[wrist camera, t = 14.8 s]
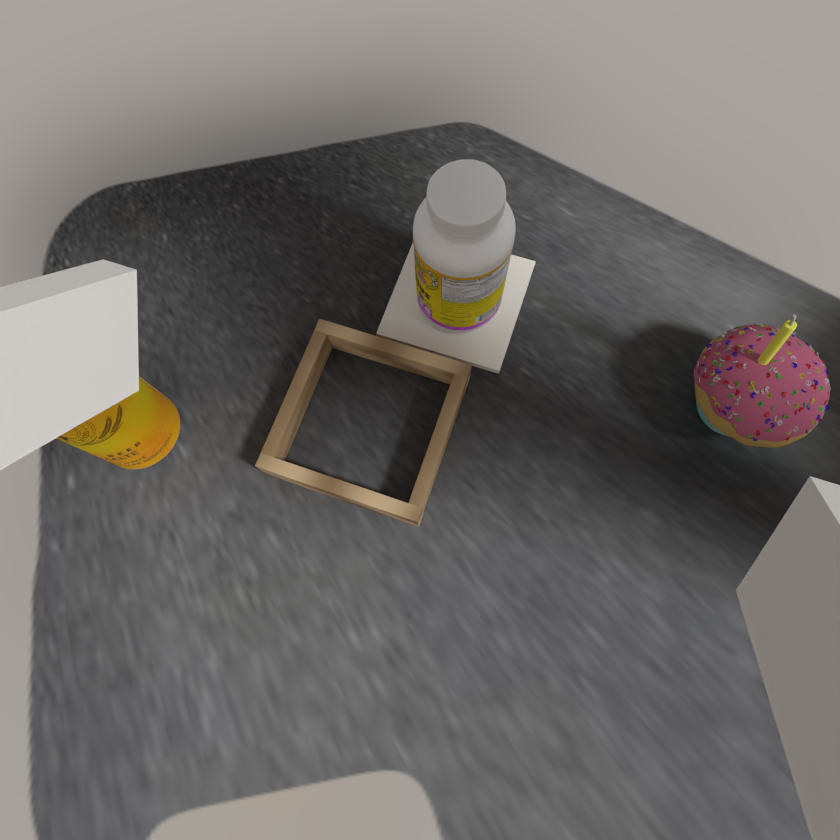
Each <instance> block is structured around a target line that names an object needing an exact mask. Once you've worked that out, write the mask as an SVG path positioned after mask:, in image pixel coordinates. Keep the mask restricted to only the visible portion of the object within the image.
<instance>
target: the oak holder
mask: <svg viewBox="0 0 840 840" xmlns="http://www.w3.org/2000/svg"><path fill="white" fill-rule="evenodd" d="M332 348H334V349H337V350H341V351H344V352H347V353H350V354H354V355H357V356H360V357H363V358H366V359H370V360H373V361H376V362H379V363H383V364H386V365H389V366H392V367H395V368H399V369H402V370H405V371H408V372H411V373H415V374H418V375H421V376H424V377H428V378H431V379H434V380H437V381H440V382H444V383H447V384H450V387H449V390H448V392H447V395H446V398H445V401H444V404H443V407H442V409H441V412H440V415H439V418H438V421H437V424H436V426H435V429H434V432H433V435H432V438H431V441H430V443H429V446H428V449H427V452H426V455H425V458H424V460H423V463H422V466H421V469H420V472H419V475H418V477H417V480H416V483H415V486H414V489H413V492H412V494H411V497H410V500H409V503H406V502H403V501H400V500H397V499H394V498H391V497H388V496H386V495H383V494H380V493H377V492H374V491H371V490H368V489H365V488H362V487H359V486H356V485H353V484H350V483H347V482H344V481H341V480H339V479H336V478H333V477H330V476H327V475H324V474H321V473H318V472H315V471H312V470H309V469H306V468H303V467H300V466H297V465H295V464H292V463H289V462H286V461H285V459H286V457H287V454H288V452H289V449H290V447H291V445H292V442H293V440H294V438H295V435H296V433H297V431H298V428H299V426H300V423H301V421H302V419H303V416H304V414H305V412H306V409H307V407H308V405H309V402H310V400H311V397H312V395H313V393H314V390H315V388H316V386H317V383H318V381H319V379H320V376H321V374H322V371H323V369H324V367H325V364H326V362H327V360H328V357H329V355H330V353H331V350H332ZM471 366H472V365H470V364H466V363H463V362H460V361H457V360H453V359H450V358H447V357H443V356H440V355H437V354H434V353H430V352H427V351H424V350H420V349H417V348H414V347H411V346H407V345H404V344H401V343H397V342H394V341H391V340H388V339H384V338H381V337H378V336H375V335H371V334H368V333H365V332H361V331H358V330H355V329H352V328H348V327H345V326H342V325H338V324H335V323H332V322H329V321H325V320H322V319H319V321H318V323H317V325H316V327H315V330H314V332H313V334H312V337H311V339H310V341H309V343H308V346H307V348H306V350H305V353H304V355H303V357H302V360H301V362H300V364H299V366H298V369H297V371H296V373H295V376H294V378H293V380H292V382H291V385H290V387H289V389H288V392H287V394H286V396H285V398H284V401H283V403H282V405H281V408H280V410H279V412H278V414H277V417H276V419H275V421H274V424H273V426H272V428H271V431H270V433H269V435H268V437H267V440H266V442H265V444H264V447H263V449H262V451H261V453H260V456H259V458H258V460H257V463H256V465H255V467H257V468H258V469H259V470H261V471H262V472H263V473H264V474H267V475H269V476H272V477H275V478H278V479H281V480H284V481H287V482H290V483H293V484H296V485H298V486H301V487H304V488H307V489H310V490H313V491H316V492H319V493H322V494H325V495H327V496H330V497H333V498H336V499H339V500H342V501H345V502H348V503H351V504H353V505H356V506H359V507H362V508H365V509H368V510H371V511H374V512H377V513H380V514H382V515H385V516H388V517H391V518H394V519H397V520H400V521H403V522H406V523H409V524H411V525H414V526H417V527H419V525H420V522H421V519H422V516H423V513H424V510H425V507H426V504H427V501H428V498H429V496H430V493H431V490H432V487H433V484H434V481H435V478H436V475H437V472H438V469H439V467H440V464H441V461H442V458H443V455H444V452H445V449H446V446H447V443H448V440H449V437H450V435H451V432H452V429H453V426H454V423H455V420H456V417H457V414H458V411H459V408H460V406H461V403H462V400H463V397H464V394H465V391H466V388H467V385H468V382H469V379H470V374H471Z"/></svg>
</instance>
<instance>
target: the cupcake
mask: <svg viewBox="0 0 840 840" xmlns="http://www.w3.org/2000/svg"><path fill="white" fill-rule="evenodd" d="M795 319H796V315H795V314H794V315H792V319H791V320H787V321H786V322H785V323H784V324H783V326H782V327H781V328H780V329H779V328H776V327H771V326H766V325H764V324H761V325H758V324H756V323H754V324H755V325H745V326H739V327H736V328H734V329H731V330H729V331H727V332H725V333H722V334H721V335H720V336H718V337H717V338H715V339H714V340H713V341H712V342H710V343H709V344H708V345H707V346H706V347H705V348H704V350H703V351H702V353H701V355H700V358H699V360H698V361H697V363H696V367H695V369H694V380H695V395H696V406H697V410H698V413H699V416H700V417H701V419H702V420H703V422H704V423H705V424H706V425H707V426H708V427H709V428H710V429H712V430H713V431H715V432H717V433H719V434H721V435H725V436H730V437H732V438H734V439H735V440H737V441H738V442H740V443H741V444H743V445H747V446H757V447H769V448H777V447H782V446H785V445H787V444H790V443H792V442H794V441H797V440H799V439H801V438H803V437H805V436H806V435H807V434H808V433H809V432H811V431H812V430H813V428H814V427H815V426H816V425H817V424H818V423H819V422H820V421H821V419H822V417H823V415H824V412H825V410H828V409H829V406H828V405H827V404H828V401H829V396H830V390H831V387H830V383H829V378H828V371H827V370H826V366H825V363H824V361H823V360H821V359H820V358H819V355H818V352H817V354H816V353H815V351H814V349H812V347H811V345H810V344H809V345H808V344H807V343H804V342H803V341H801V340H800V339H799V338H797V337H796V336H795V335H796V333H793V331H794V330H795V329H796V327H797V323H796V322H795ZM826 407H827V409H826Z"/></svg>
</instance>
